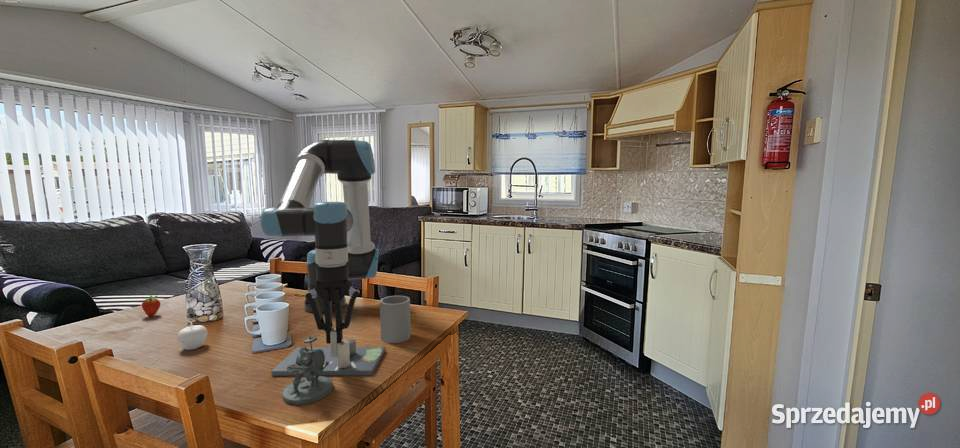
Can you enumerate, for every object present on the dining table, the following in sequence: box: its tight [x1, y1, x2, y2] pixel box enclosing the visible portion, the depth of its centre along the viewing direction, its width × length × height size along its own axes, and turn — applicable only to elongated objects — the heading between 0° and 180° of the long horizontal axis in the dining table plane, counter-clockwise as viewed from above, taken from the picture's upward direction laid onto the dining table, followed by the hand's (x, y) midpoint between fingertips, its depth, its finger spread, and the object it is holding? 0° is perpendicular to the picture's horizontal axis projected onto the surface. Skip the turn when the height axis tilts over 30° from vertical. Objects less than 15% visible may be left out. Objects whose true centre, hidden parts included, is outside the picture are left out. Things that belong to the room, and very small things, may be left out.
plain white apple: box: [177, 321, 208, 351], centre depth 111 cm, size 7×7×8 cm
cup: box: [379, 295, 412, 344], centre depth 118 cm, size 9×9×12 cm
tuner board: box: [270, 346, 386, 377], centre depth 102 cm, size 14×25×1 cm, turn 90°
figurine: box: [281, 335, 334, 406], centre depth 87 cm, size 11×11×12 cm
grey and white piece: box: [337, 338, 357, 368], centre depth 100 cm, size 11×4×6 cm, turn 12°
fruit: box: [141, 294, 161, 317], centre depth 137 cm, size 5×5×8 cm
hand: (335, 354), depth 96 cm, fingers closed
